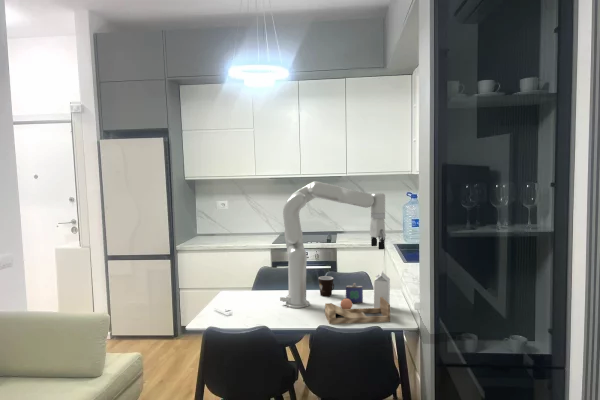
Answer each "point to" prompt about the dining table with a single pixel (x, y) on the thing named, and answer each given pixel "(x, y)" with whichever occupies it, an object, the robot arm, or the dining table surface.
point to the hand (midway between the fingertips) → (377, 247)
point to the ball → (346, 304)
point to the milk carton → (381, 289)
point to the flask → (354, 293)
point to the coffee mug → (326, 285)
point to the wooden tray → (358, 314)
